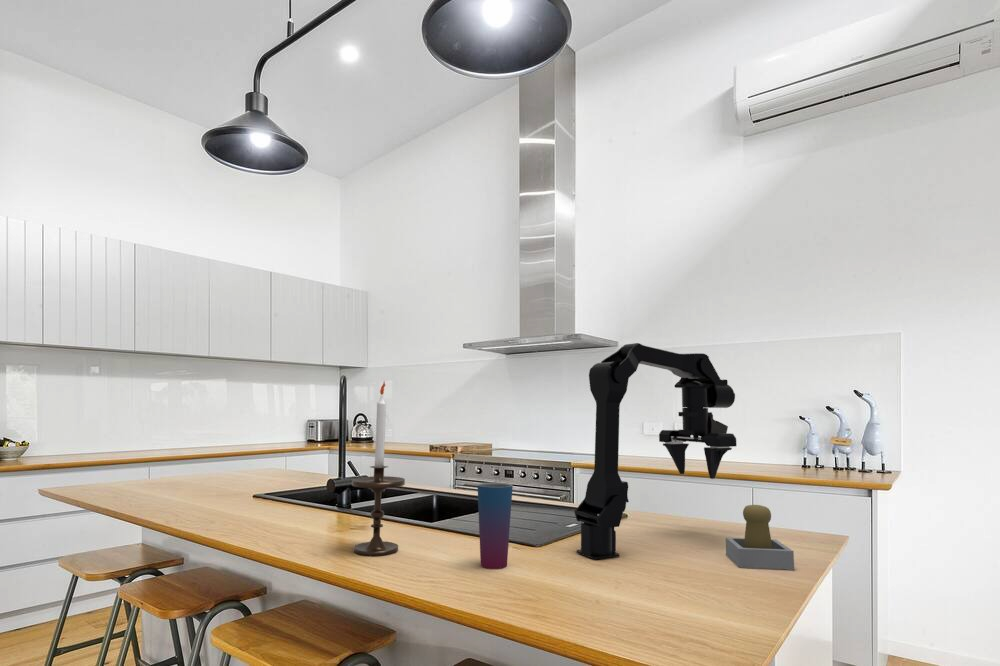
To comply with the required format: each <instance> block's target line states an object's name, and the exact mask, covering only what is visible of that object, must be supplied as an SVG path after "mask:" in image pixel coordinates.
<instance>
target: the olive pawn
mask: <svg viewBox="0 0 1000 666" xmlns="http://www.w3.org/2000/svg"><path fill="white" fill-rule="evenodd" d="M742 516H743V519H744V521H745V522H746V523H745V531H744V538H745V539H744V548H760V549H773V547H772V542H771V539H772V536H771V531H770V524H769V523H770V522H771V520H772V512H771V510H770V508H769V507H767V506H764V505H761V504H749V505H746V506H744V508H743V511H742Z"/></svg>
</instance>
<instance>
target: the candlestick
mask: <svg viewBox="0 0 1000 666" xmlns="http://www.w3.org/2000/svg"><path fill="white" fill-rule="evenodd" d="M385 387H386V383H385V380H383V383H382V385H381V387H380V390H379V393H380V396H379V397H380V398H379V400H378V401H377V402H376V417H375V418H376V419H375V420H376V421H375V422H376V423H375V424H376V425H375V446H374V465H372V466H369V468H370V469H371V468H372V469H373V476H362V477H356V478H352V479H351V486H352V487H354V488H362V489H368V490H371V492H372V493H374V505H373V506H374V509H373V510H372V511H371V512H370V517H371V518H372V519H373V520H372V521H373V522H372V524H371V525H370V528H372V530H373V531H372V532H373V533H372V537H371V539H370V540H369V541H365V542H361V543H358V544H355V545H354V546H353V551H352V552H353V554H355V555H357V556H360V557H386V556H390V555H393V554H394V555H395V554H397V553H398V552H399V544H398V543H395V542H392V541H391V542H390V541H383V540H382V537H381V528H383V527H384V524H382V518H383V517H384V515H385V512H384V510H382V509H381V508H382V493H384V492H385V490H388V489H391V488H398V487H403V486H405V482H406V480H405V478H404V477H400V476H390V475H389V476H388V475H387V476H385V469H386V468H389V466H388V465H387V466H386V465H385V439H386V417H387V416H386V413H387V411H386V410H387V402H385V399H384V393H385Z"/></svg>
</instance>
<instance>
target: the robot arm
mask: <svg viewBox="0 0 1000 666" xmlns="http://www.w3.org/2000/svg"><path fill="white" fill-rule="evenodd" d="M639 365H645V366H649V367H653V368H658V369H663V370H667V371H670V372H672V375H674V376H676V377H679V380H678V381H677V382H676V383H675V384H674V388H675V389H681V406H682V407H681V408H682V411H678V417H682V429H662V430H660V432H659V434H658V439H659V443H660V442H661V443H662V446H664V447H665V448H666V450H667V451H668V453H669V455H670V457H671V459H672V461H673V463H674V464H675V467H676V469H677V470H678V472H679V474H680V475H684V474H685V473H686V472H685V469H686V450H687V448H688V447H689V445H690V443H691V442H693V443H704V444H705V445H706V446H707V447H703V451H704V455H705V461H706V467H707V472H708V475H709V478H710V479H712V480H713V479H715V478H716V476H717V473H718V470H719V466H720V463H721V461H722V459H723V456H724V455H725V454H726V453H727V452H728V451H731V450H732V449H733V447H737V437H736V435H735V434H734V433H729V432H728V428H729V426H728V425H726V424H724V423H723V422H720V421H719V420H716V419H714V415H713V412H711V411H710V412H709V409H721V408H722V409H727V408H730V407H732V406H733V405H734V403H735V401H736V394H735V392H734V390H733V388H732V386H730V385H729V384H728V379H722V378H721V377H720V376H719V373H718V372H717V371H716V368H715V367H714V365H713V362H711V360H710V356H709V355H708V354H705V353H700V352H699V353H698V352H697V353H695V352H694V353H678V352H673V351H669V350H664V349H660V348H655V347H652V346H647V345H644V344H642V343H638V342H636V343H635V342H634V343H627V344H624V345H622V346H621V347H620V348H619V349H618V350H617V351H615V352H614V353H612V354H611V355H609V356H607V357H606V358H604V359H603V360H601V362H597V363H595V364H594V365H593V366H592V367H590V369H589V372H588V379H589V380H588V381H589V390H590V392H591V395H592V396H593V398H594V401H595V407H596V408H595V437H594V439H595V441H594V469H593V473H592V475H591V476H590V478H589V481H588V482H587V485H586V491H585V496H584V499H583V500H582V501H581V503H579V505H578V507H576V508H575V510H574V515H575V519H576V521H578V522H581V523H580V549H576V553H577V554H579V555H582V556H585V557H587V558H589V559H593V560H601V559H607V558H609V559H610V558H615V557H620V553H618V552H617V551H616V549H617V546H616V545H617V539H616V538H617V534H616V533H617V532H616V530H615V528H619V527H620V526H621V521H622V518H623V513H624V512H625V511H626V509H627V508H626V506H627V503H629V496H628V492H629V483H628V481H623V480H622V479H621V477H620V474H619V448H620V447H619V445H620V444H619V442H620V441H619V439H620V408H621V403H622V401H623V399H624V397H625V395H626V393H627V390H628V386H629V379H630V378H631V377H632V375H634V374H635V373H636V372H637V370H638V368H639ZM727 432H728V433H727ZM686 442H690V443H686Z"/></svg>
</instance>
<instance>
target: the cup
mask: <svg viewBox="0 0 1000 666" xmlns="http://www.w3.org/2000/svg"><path fill="white" fill-rule="evenodd" d="M513 486H514V485H513V484H512V483H508V482H507V483H506V482H498V481H497V482H495V481H493V482H480V483H478V484H477V505H478V506H477V507H478V530H479V532H478V533H479V534H478V535H479V553H480V555H479V558H480V566H481V567H482V568H484V569H487V570H488V569H489V570H498V569H499V570H500V569H505V568H507V566H508V559H509V558H508V555H509V543H510V541H509V540H510V530H511V529H510V526H511V516H512V514H511V513H512V512H511V511H512V503H513Z"/></svg>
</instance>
